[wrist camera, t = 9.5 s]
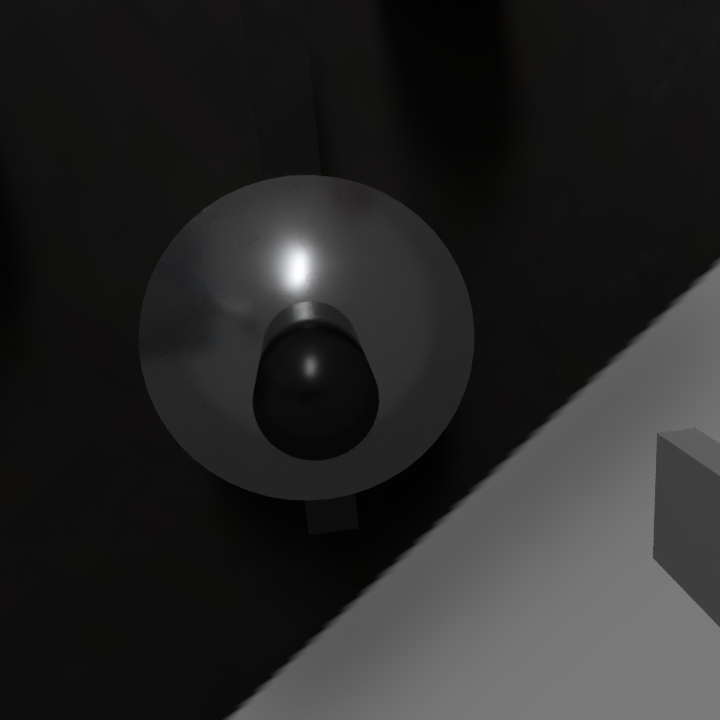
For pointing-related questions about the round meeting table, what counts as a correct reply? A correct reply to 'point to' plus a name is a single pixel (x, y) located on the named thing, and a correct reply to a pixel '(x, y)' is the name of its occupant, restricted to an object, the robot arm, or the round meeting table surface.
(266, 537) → the round meeting table surface
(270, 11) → the pot
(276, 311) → the lid
